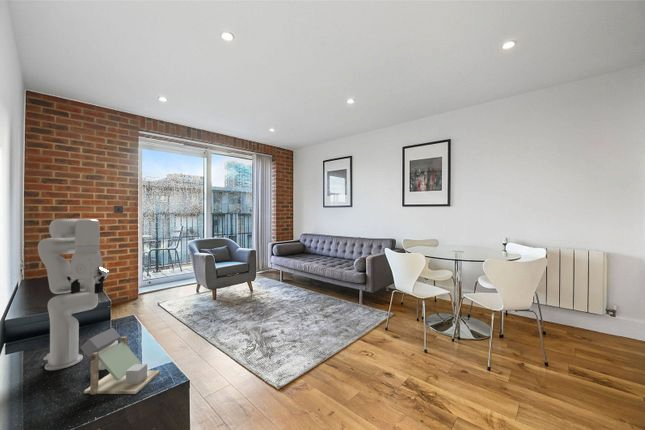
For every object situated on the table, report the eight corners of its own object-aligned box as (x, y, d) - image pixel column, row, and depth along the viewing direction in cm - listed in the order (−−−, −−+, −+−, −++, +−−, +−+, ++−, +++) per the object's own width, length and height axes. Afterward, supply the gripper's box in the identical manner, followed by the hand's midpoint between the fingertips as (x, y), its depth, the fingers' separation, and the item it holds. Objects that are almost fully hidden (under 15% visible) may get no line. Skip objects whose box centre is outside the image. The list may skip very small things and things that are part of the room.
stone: (126, 370, 105) (138, 370, 105) (135, 363, 110) (147, 364, 110) (125, 383, 105) (138, 383, 104) (135, 376, 110) (147, 376, 109)
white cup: (121, 363, 122) (122, 341, 123) (102, 372, 115) (103, 348, 115) (110, 360, 125) (110, 338, 125) (90, 369, 118) (91, 346, 118)
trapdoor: (78, 348, 102) (88, 339, 102) (105, 334, 114) (114, 326, 114) (111, 386, 101) (120, 377, 101) (134, 369, 113) (143, 361, 113)
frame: (80, 395, 99) (81, 354, 100) (117, 370, 116) (117, 335, 116) (132, 396, 98) (132, 355, 99) (162, 371, 115) (162, 335, 116)
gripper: (57, 251, 104) (56, 295, 103) (99, 250, 103) (99, 295, 103) (75, 249, 111) (75, 290, 111) (115, 248, 111) (115, 290, 110)
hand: (87, 292), depth 107 cm, fingers open, 9 cm apart
